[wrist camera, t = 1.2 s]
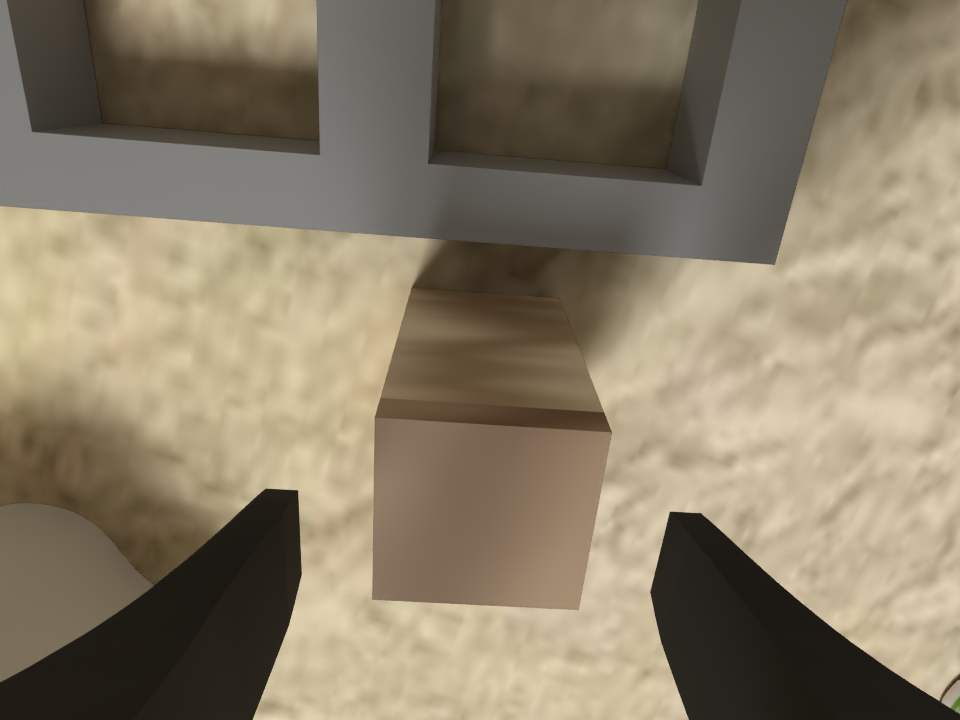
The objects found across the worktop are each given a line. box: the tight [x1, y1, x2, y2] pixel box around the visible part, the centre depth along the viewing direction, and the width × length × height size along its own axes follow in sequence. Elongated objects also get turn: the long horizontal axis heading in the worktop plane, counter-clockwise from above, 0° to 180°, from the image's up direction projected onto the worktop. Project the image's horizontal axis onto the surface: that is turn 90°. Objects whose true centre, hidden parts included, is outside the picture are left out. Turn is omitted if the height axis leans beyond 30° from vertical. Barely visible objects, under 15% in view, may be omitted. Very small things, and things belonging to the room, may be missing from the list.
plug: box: [372, 288, 612, 610], centre depth 17 cm, size 4×4×8 cm
